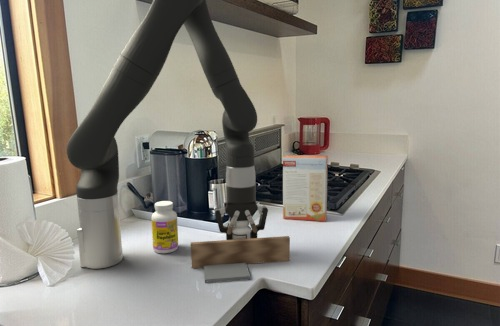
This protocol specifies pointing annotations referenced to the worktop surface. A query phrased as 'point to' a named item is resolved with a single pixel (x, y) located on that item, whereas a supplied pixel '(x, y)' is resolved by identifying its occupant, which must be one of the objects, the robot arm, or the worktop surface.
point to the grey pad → (226, 272)
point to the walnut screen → (240, 251)
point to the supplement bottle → (164, 228)
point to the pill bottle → (241, 230)
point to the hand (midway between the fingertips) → (241, 245)
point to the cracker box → (305, 187)
